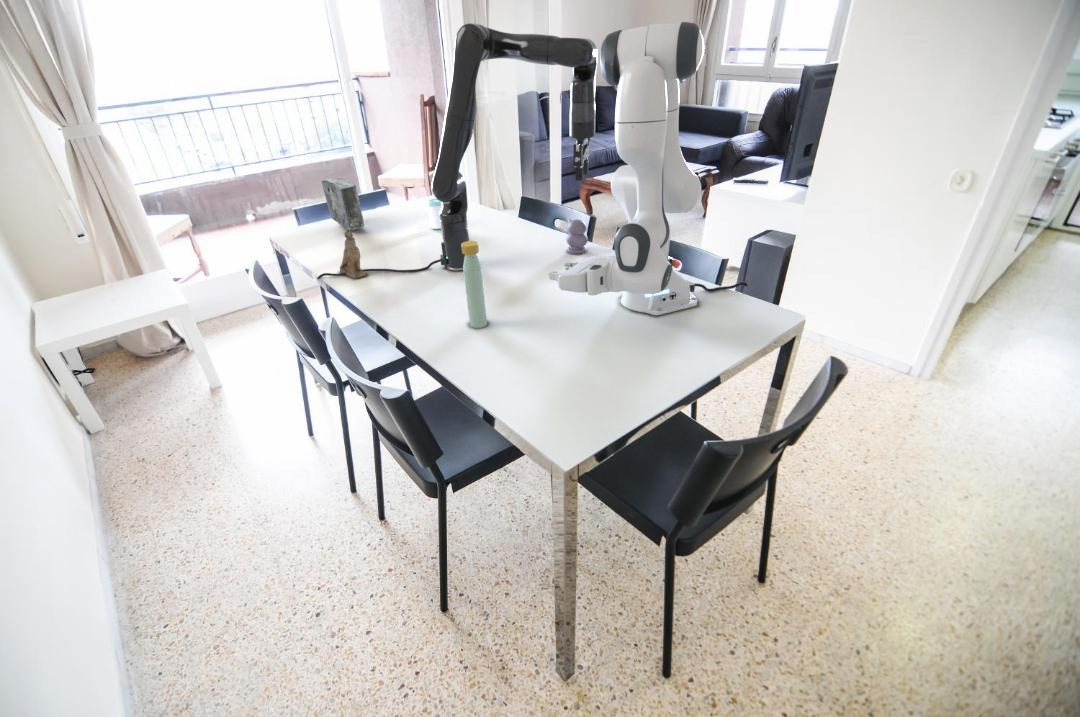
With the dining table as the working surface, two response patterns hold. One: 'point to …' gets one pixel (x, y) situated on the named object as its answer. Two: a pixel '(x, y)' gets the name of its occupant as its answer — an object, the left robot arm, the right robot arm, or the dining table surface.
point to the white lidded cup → (434, 213)
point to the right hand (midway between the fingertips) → (558, 270)
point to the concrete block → (343, 202)
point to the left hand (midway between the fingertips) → (581, 177)
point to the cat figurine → (576, 236)
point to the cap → (470, 247)
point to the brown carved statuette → (351, 258)
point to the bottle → (474, 291)
